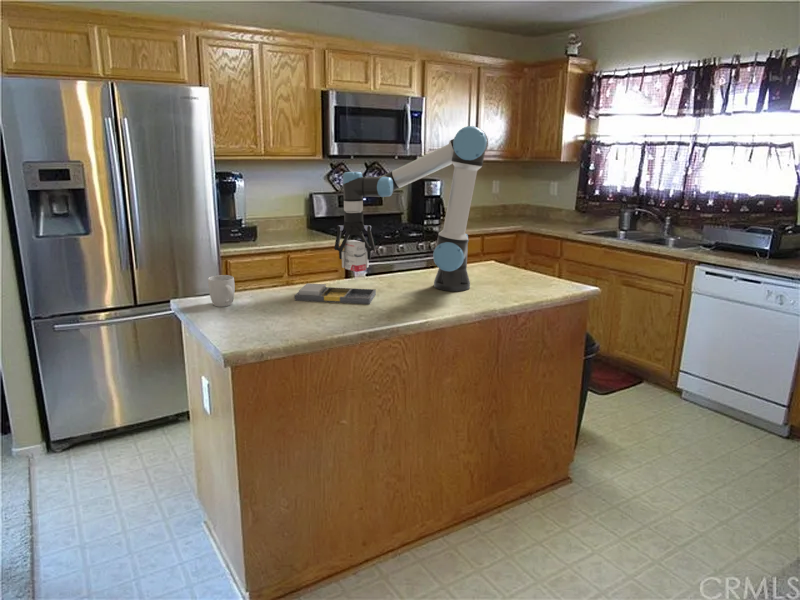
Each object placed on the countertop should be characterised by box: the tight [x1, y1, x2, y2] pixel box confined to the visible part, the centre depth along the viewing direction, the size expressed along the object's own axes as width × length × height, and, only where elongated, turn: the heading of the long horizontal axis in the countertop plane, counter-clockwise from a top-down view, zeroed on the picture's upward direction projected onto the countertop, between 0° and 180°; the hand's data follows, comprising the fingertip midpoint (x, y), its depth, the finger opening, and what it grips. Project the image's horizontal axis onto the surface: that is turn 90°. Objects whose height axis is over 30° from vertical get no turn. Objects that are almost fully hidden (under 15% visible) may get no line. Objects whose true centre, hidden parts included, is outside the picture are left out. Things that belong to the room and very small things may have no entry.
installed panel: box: [298, 283, 327, 296], centre depth 213 cm, size 8×11×3 cm
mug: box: [207, 274, 236, 308], centre depth 198 cm, size 13×9×10 cm
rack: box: [294, 286, 377, 305], centre depth 213 cm, size 29×14×2 cm, turn 83°
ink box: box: [344, 239, 367, 273], centre depth 223 cm, size 8×5×12 cm, turn 39°
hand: (355, 267), depth 224 cm, fingers closed on ink box, 9 cm apart
